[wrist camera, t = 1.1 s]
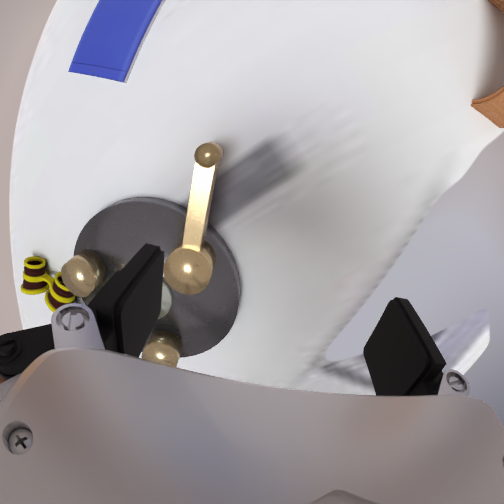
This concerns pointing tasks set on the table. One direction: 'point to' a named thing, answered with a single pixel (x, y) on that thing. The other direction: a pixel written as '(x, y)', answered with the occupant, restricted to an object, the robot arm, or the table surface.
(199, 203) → the tan knobbed bar
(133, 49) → the hard drive
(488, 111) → the arch
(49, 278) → the opera glasses
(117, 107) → the table surface
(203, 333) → the base
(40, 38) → the table surface
